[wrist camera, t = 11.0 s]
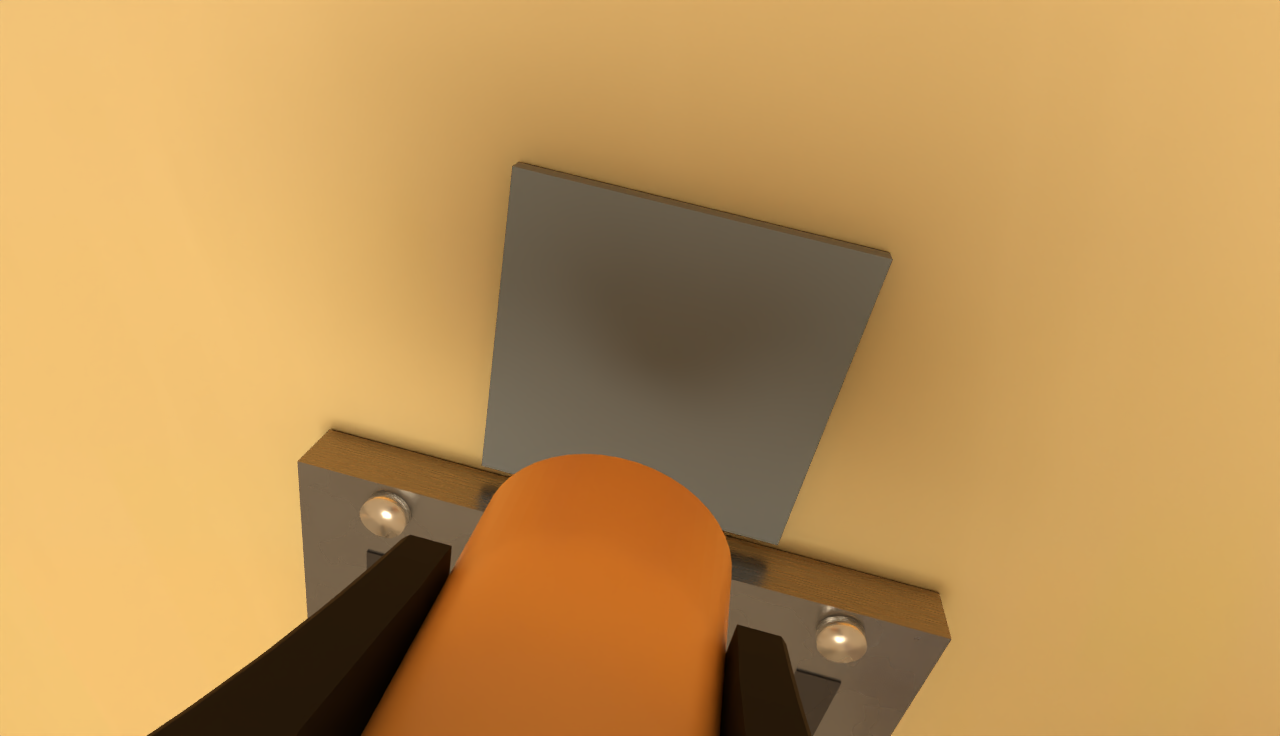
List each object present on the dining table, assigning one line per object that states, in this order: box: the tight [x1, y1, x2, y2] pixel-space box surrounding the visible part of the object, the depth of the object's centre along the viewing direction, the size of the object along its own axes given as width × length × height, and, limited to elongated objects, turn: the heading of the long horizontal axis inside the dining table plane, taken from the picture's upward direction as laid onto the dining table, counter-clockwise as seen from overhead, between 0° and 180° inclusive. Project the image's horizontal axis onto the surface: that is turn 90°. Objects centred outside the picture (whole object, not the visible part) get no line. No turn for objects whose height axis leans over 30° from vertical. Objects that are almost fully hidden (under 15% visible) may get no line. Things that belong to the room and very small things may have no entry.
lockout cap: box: [361, 454, 732, 736], centre depth 9 cm, size 4×4×5 cm
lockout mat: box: [482, 162, 893, 545], centre depth 16 cm, size 8×8×1 cm
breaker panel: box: [298, 430, 951, 736], centre depth 21 cm, size 17×12×2 cm
